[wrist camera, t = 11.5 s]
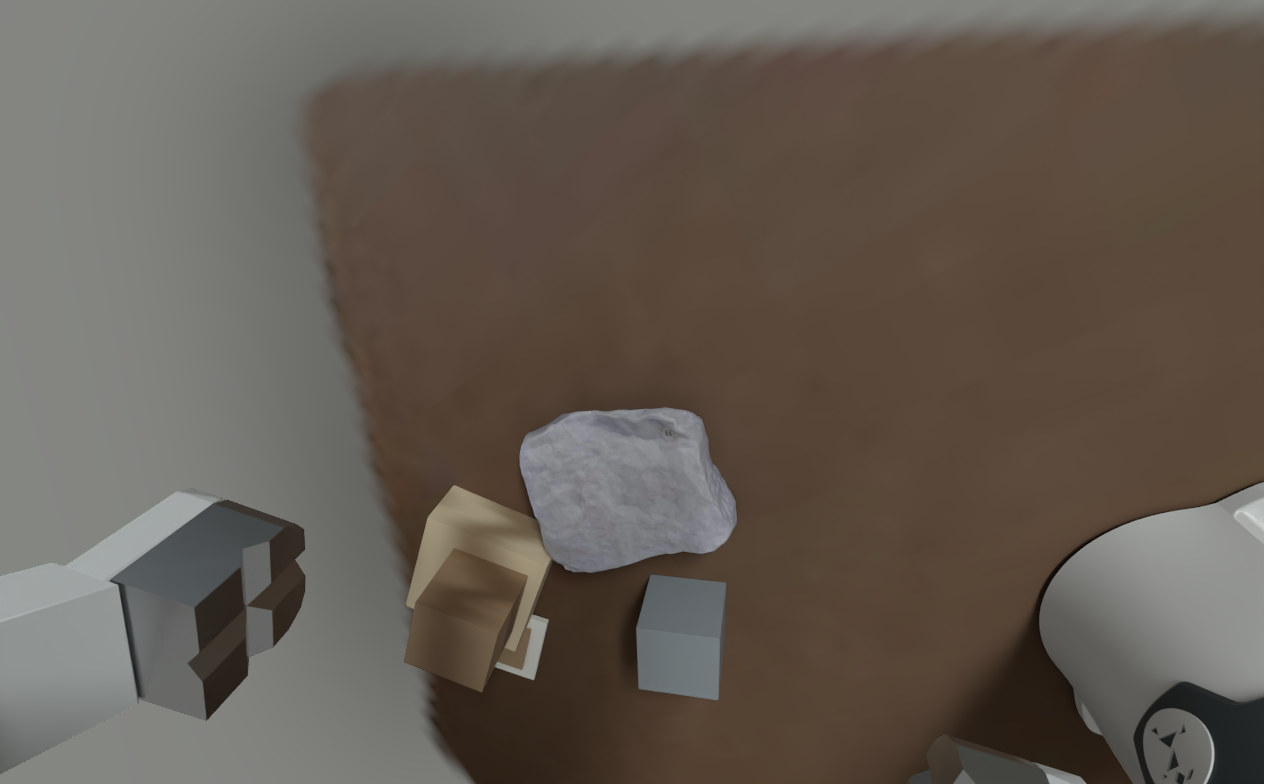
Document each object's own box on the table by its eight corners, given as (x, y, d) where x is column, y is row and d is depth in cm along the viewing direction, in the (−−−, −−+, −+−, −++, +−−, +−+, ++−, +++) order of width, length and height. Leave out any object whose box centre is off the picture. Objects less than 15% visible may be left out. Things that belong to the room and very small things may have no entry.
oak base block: (565, 528, 45) (546, 567, 41) (534, 610, 48) (514, 651, 45) (455, 482, 45) (427, 517, 42) (433, 567, 49) (405, 605, 45)
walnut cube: (528, 575, 42) (497, 634, 37) (512, 631, 44) (482, 692, 40) (454, 547, 42) (415, 602, 38) (442, 604, 44) (404, 662, 40)
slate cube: (726, 581, 44) (720, 638, 39) (724, 640, 46) (718, 700, 41) (650, 573, 45) (636, 628, 40) (652, 631, 47) (638, 688, 42)
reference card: (548, 619, 48) (545, 626, 47) (535, 676, 51) (532, 683, 50) (470, 593, 49) (466, 600, 48) (461, 650, 51) (457, 657, 51)
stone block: (525, 415, 44) (572, 555, 45) (494, 436, 39) (548, 590, 41) (700, 369, 40) (744, 521, 42) (688, 386, 36) (739, 556, 37)
